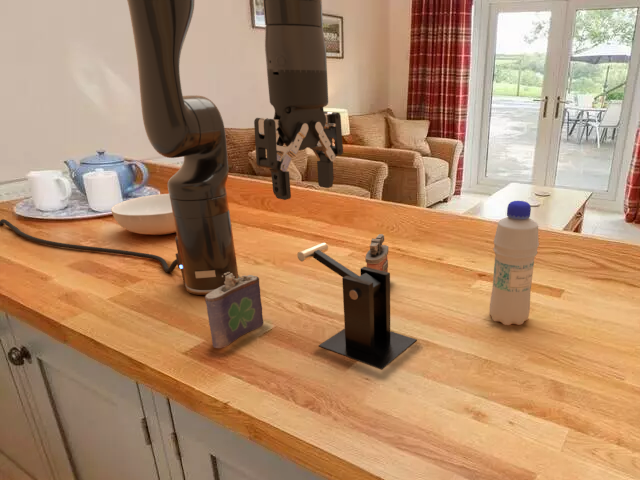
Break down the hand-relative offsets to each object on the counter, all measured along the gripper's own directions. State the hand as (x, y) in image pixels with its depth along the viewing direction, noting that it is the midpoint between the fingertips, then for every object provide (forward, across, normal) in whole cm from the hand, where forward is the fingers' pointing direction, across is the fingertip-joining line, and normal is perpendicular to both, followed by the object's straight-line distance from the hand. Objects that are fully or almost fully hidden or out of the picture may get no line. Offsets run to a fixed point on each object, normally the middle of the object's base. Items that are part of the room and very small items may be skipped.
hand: (305, 192), depth 69 cm
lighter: (+22, -17, 0) cm, 27 cm away
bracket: (+21, +1, +11) cm, 24 cm away
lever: (+11, +1, +7) cm, 13 cm away
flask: (+22, +9, -7) cm, 24 cm away
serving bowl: (+22, -18, -66) cm, 72 cm away
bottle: (+21, -18, +25) cm, 38 cm away
